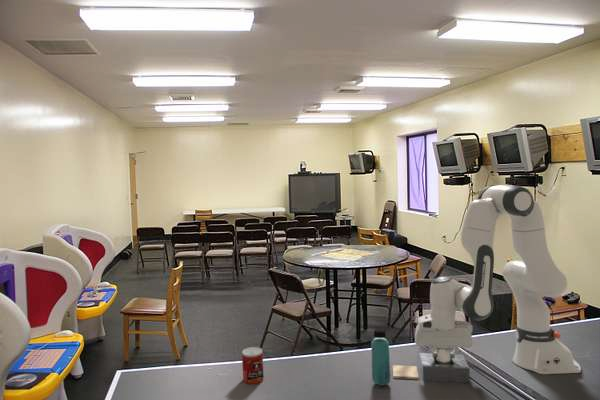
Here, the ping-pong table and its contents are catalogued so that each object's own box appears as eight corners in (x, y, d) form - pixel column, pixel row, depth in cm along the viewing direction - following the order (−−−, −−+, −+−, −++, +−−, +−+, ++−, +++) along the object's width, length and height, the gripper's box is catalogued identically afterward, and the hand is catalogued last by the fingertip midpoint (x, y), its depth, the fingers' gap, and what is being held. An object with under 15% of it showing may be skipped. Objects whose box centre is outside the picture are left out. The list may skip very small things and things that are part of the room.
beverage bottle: (386, 390, 150) (385, 334, 149) (368, 386, 153) (367, 331, 152) (393, 382, 155) (392, 328, 154) (375, 378, 159) (374, 325, 158)
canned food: (247, 386, 156) (246, 357, 156) (240, 377, 164) (238, 349, 163) (267, 381, 160) (265, 352, 159) (259, 373, 167) (257, 345, 166)
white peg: (449, 370, 163) (449, 344, 163) (452, 377, 158) (451, 350, 158) (435, 370, 164) (435, 344, 164) (437, 376, 159) (436, 349, 158)
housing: (463, 367, 166) (462, 354, 165) (469, 382, 154) (469, 368, 154) (419, 365, 168) (419, 353, 168) (423, 380, 157) (422, 366, 156)
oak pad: (416, 368, 166) (416, 366, 166) (418, 379, 157) (418, 377, 157) (392, 367, 168) (392, 365, 168) (393, 378, 159) (393, 375, 159)
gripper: (470, 318, 161) (471, 355, 162) (414, 317, 165) (414, 352, 166) (474, 324, 155) (474, 362, 156) (415, 323, 159) (416, 359, 160)
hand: (443, 357), depth 161 cm, fingers closed on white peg, 5 cm apart
